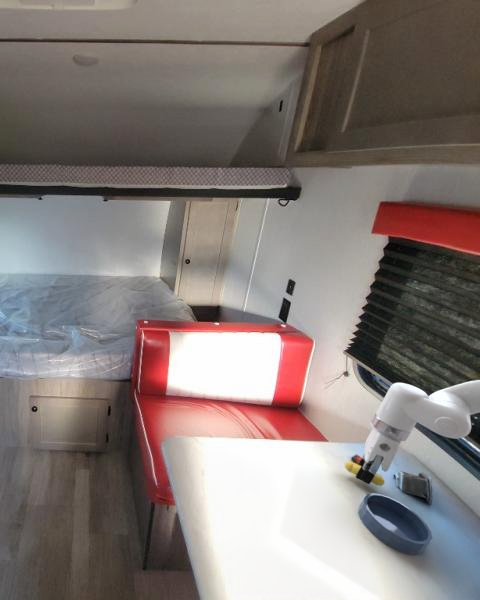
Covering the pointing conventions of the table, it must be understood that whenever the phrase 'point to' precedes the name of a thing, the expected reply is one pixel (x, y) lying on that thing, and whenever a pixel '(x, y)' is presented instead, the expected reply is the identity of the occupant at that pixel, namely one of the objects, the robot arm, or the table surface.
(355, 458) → the matchbox
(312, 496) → the table surface
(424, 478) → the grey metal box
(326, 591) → the table surface
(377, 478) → the yellow rounded cylinder
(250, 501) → the table surface
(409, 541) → the bowl
